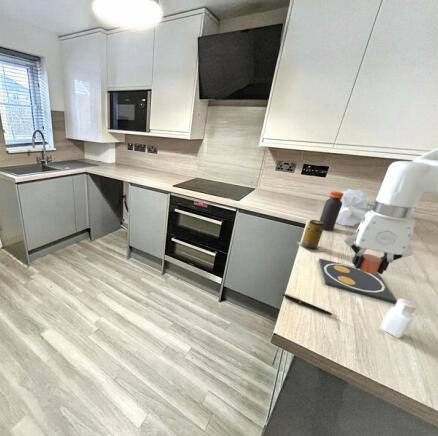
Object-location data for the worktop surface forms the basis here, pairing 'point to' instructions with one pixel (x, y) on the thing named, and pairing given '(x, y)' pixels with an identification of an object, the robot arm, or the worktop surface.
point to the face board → (355, 280)
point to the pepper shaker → (399, 318)
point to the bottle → (331, 210)
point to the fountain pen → (307, 304)
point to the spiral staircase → (352, 207)
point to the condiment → (312, 236)
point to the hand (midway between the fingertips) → (367, 268)
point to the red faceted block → (370, 264)
